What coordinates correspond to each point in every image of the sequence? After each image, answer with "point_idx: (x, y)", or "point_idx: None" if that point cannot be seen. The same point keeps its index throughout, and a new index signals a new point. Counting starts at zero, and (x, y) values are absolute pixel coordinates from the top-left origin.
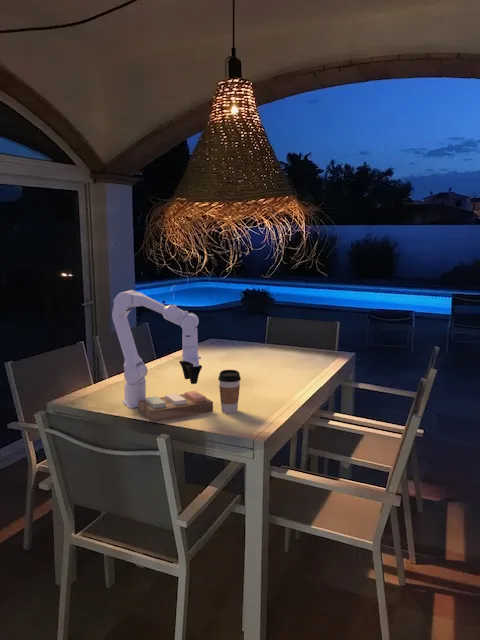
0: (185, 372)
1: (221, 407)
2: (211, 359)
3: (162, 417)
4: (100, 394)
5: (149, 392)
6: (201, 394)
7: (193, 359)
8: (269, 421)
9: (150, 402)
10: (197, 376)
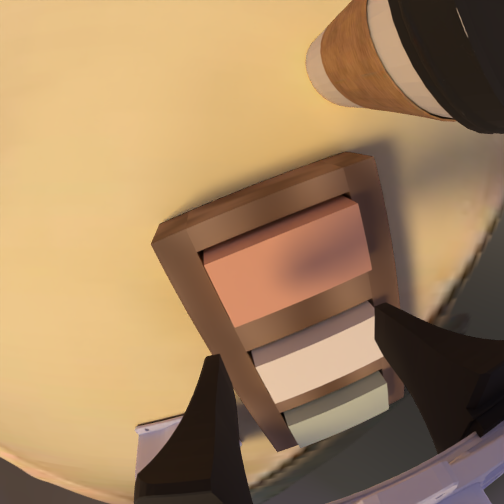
0: (236, 428)
1: (359, 107)
2: None
3: None
4: (107, 483)
5: (48, 400)
6: (305, 227)
7: (494, 476)
8: None
9: (354, 423)
10: (429, 329)
